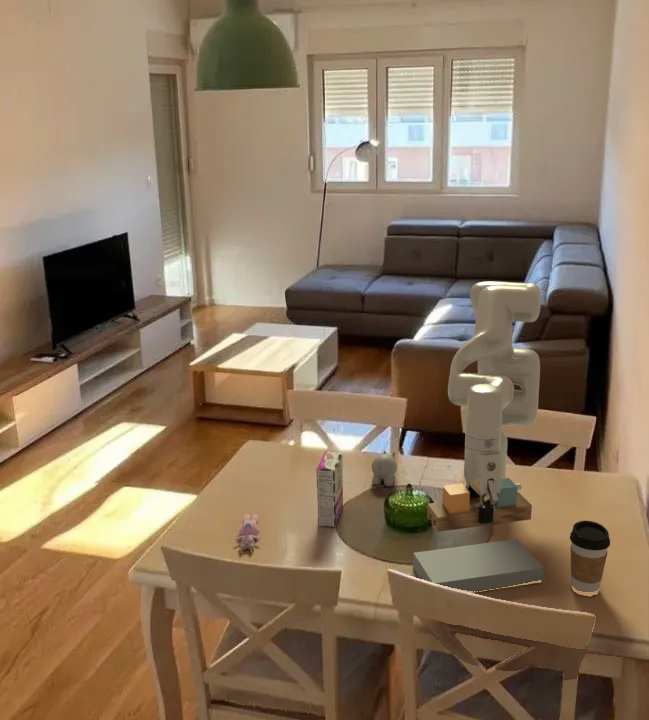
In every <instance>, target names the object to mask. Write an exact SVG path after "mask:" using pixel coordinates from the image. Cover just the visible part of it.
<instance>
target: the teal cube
mask: <svg viewBox="0 0 649 720" xmlns="http://www.w3.org/2000/svg"><path fill="white" fill-rule="evenodd" d="M517 489H518V487H517V486H516V485H515V482H513V480H511V479H510V477H505V478H504V479H501V491H500V494H497V496H498V501H497V502H496V504H495V505H496V506H497V507H506V506H513V505H516V504H517V492H518V490H517ZM489 498H490V497H489Z"/></svg>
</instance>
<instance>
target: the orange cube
mask: <svg viewBox="0 0 649 720" xmlns="http://www.w3.org/2000/svg"><path fill="white" fill-rule="evenodd" d="M441 495H442V500H441V502H442V504H443V506H444V507H445V508H446V510H447V511H448V512H449V514H451V513H459V512H466V511H469V500H470V492H469V491H468V490H467V489H466V486H465V485H464V484H463V483H454V484H448V485H442V494H441Z"/></svg>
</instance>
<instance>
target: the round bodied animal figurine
mask: <svg viewBox="0 0 649 720" xmlns="http://www.w3.org/2000/svg"><path fill="white" fill-rule="evenodd" d="M397 470H398V464H397V460H396V451H394V452H391V453H389V452H387V451H386V450H383V453H381V454H378V455H376V457H375V458H373V460H372V463H371V471H372V473H373V476H372V479H371V483H372V485H374V486H380V485H381V483H382V482H383V484H384V486H386V487H392V486H393V485H394V482H395V480H396V477H395V475H396V472H397Z"/></svg>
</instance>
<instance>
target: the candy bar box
mask: <svg viewBox="0 0 649 720" xmlns="http://www.w3.org/2000/svg"><path fill="white" fill-rule="evenodd" d="M318 463H319V464H318V465H317V467H316V470H315V471H316V494H317V498H316V499H317V525H318V526H319V527H329V528H336V527H337V524H338V522H339V519H340V516H341V514H342V511H343V509H344V495H343V493H344V487H343V486H344V483H343V481H344V480H343V477H344V476H343V452H342V451H341V452H340V451H331V450H327V451H324V452H323V455H322V457H321V459H320V461H319V462H318Z"/></svg>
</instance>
